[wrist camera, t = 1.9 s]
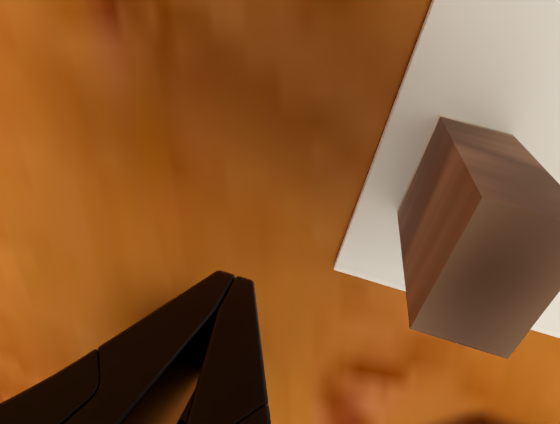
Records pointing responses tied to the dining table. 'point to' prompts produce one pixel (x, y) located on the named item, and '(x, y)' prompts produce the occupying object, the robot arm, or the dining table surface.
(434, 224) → the walnut block
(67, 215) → the dining table surface
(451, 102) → the mat
